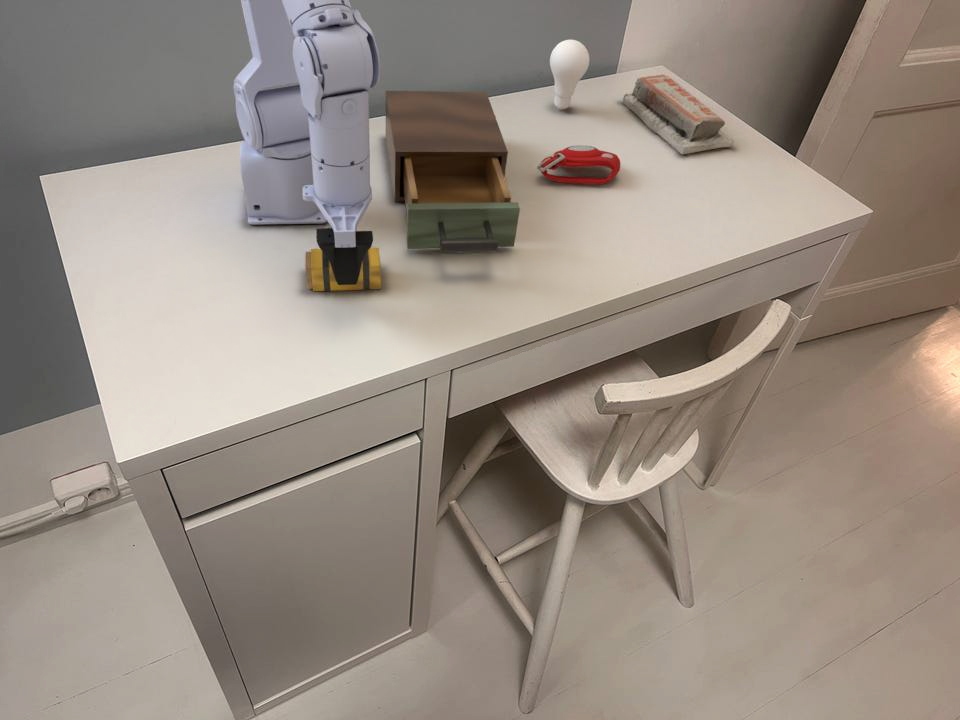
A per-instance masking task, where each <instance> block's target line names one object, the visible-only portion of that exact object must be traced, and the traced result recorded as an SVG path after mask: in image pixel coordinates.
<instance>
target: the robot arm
mask: <svg viewBox="0 0 960 720" xmlns="http://www.w3.org/2000/svg"><path fill="white" fill-rule="evenodd" d="M240 4H241V8H242V13H243V18H244V21H245V27H246V32H247V37H248V41H249V46H250V51H251V55H252V58H251V59H250V61H248V63H247V64H246V65H245V66H244V67H243V69H242V70H240V72H239V73H238V74H237V75H236V77H235V78H234V81H233V85H232V86H233V87H232V88H233V93H234V98H235V113H236V119H237V122H238V126H239V129H240V132H241V135H242V137H243V139H244V140H242V141H240V145H239V163H240V164H239V165H240V175H241V181H242V187H243V197H244V200H245V201H244V202H245V207H246V212H247V223H248V224H249V225H300V224H301V225H302V224H304V225H305V224H326V223H328V225H330V227H328V228H327V227H324V228H323V227H322V228H321V227H319V228H316V229H315V230H316V233H315V234H316V235H315V237H316V243H317V246H318V249H321V250H322V251H323V252H324V253H325V255H326V256H327V258H328V260H329V262H330V264H331V267H332V271H333V274H334V277H335V280H336V282H337V284H338V285H356V284H357V281H358V278H359V274H360V270H361V265H362V261H363V258H364V256H365V254H366V253H367V251H368V250H369V249H370V248H372V247H373V246H372V245H373V243H374V234H373V233H374V232H373V230H357V228H358V226H359V224H360V222H361V221H362V219H363V217H364V215H365V213H366V212H367V209H368V208H369V206H370V204H371V203H372V200H373V188H372V186H371V169H370V168H371V159H370V157H371V156H370V154H371V153H370V150H371V149H370V106H369V105H370V100H369V99H370V97H369V95H370V93H369V89H373V88H376V87H377V86H378V83H379V81H380V76H381V60H380V54H379V49H378V46H377V42H376V39H375V35H374V33H373V31H372V29H371V27H370V26H369V24H368V23H367V22H366V21H365V20H364V18H363V17H362V15H361V12H360V11H359V10H358V9H353V8H352V5H351V3H350V0H240ZM292 84H294V85H292ZM286 85H287V86H286ZM280 86H282V87H280ZM275 87H277V88H275ZM268 88H270V89H268Z"/></svg>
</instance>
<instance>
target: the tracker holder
mask: <svg viewBox="0 0 960 720" xmlns="http://www.w3.org/2000/svg"><path fill="white" fill-rule="evenodd" d="M559 166H560V167H562V168H588V167H589V168H590V167H605V168H607V169H610V170H611V172H610V174H609V176H605V177H604V176H603V177H602V176H600V177H599V176H598V177H597V176H573V175H572V176H571V175H569V176H567V175H555V174H551V173H548V170H552V171H553V170H557V169H558V167H559ZM536 169H537V170H538V171H539V172H540V173H541V174H542V175H543V176H544V177H545V178H546V179H548V180H551V181H553V182H558V183H564V184H565V183H566V184H585V185H603V184H606V183H608V182H610V181H611V180H613V179H614V178H615V177H616V176H617V175H618V173H619V172H620V170H621V160H620V157H619V155H617V154H615V153H613V152H610V151H606V150H600V149H598V148H597V147H594V146H591V145H570V146H568V147H565V148H563V149H561V150H558V151H556V152H554V153H553V156H547V157H544V159H542V160H541V162H540V163H539V164H538V165H537V166H536Z"/></svg>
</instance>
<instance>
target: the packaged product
mask: <svg viewBox="0 0 960 720" xmlns="http://www.w3.org/2000/svg"><path fill="white" fill-rule="evenodd" d="M634 84H635V86H634V88H633V89H632V93H625V94H624V95H623V97H622V103H623V104H624V106H626V107H627V108H628V109H630V110H631V112H633V113H634V114H635V115H636V116H637V117H638V118H639V119H640V120H641V121H642V122H643V123H644V124H645V125H646V126H647V127H648V129H650V130H651V131H653V132H654V133H656V134H657V135H658V136H660V137H661V138H662V139H663V140H664V141H665V142H667V144H669V145H670V146H671V147H672V148H674V149H675V150H676V151H677V152H678V153H679V154H680V155H688V154H692V153H698V152H702V151H709V150H714V149H715V150H716V149H720V148H731V147H732V146H733V144H734V142H735V140H734V139H732V138H730V137H729V136H728V134H727V133H725V132H724V131H722V130H721V129H722V128H723V127H724V126H725V125H726V122H725V120H724V119H723V118H722V117H720V116H719V115H718V114H717V113H716V112H714V111H713V110H711V108H709V106H708V107H707V106H706V105H705V104H704V103H703V102H701V101H700V100H699V98H697V97H696V96H694V95H693V94H692V93H691V92H689V91H688V90H687V89H686V88H684V87H683V86H682V85H681V84H679V83H678V82H677V81H675V79H673V77H670V76H669V75H666V74H657V75H647V76H641V77H639V78H637V79H636V81H635V83H634Z"/></svg>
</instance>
